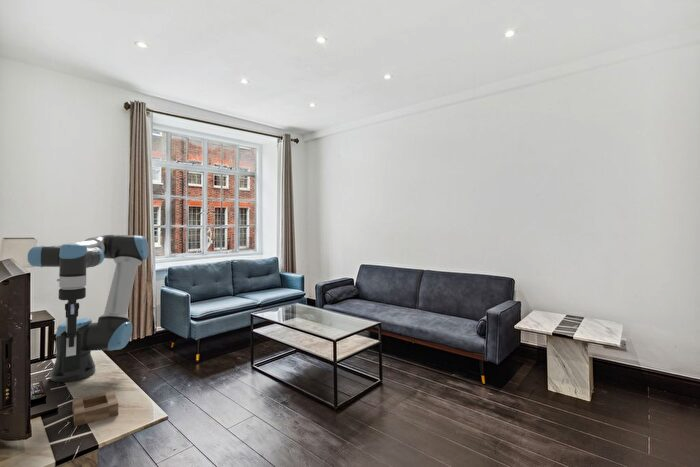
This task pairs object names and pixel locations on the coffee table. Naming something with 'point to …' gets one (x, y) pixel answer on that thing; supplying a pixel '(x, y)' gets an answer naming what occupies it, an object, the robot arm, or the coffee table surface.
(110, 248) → the robot arm
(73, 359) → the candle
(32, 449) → the coffee table surface
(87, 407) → the block
